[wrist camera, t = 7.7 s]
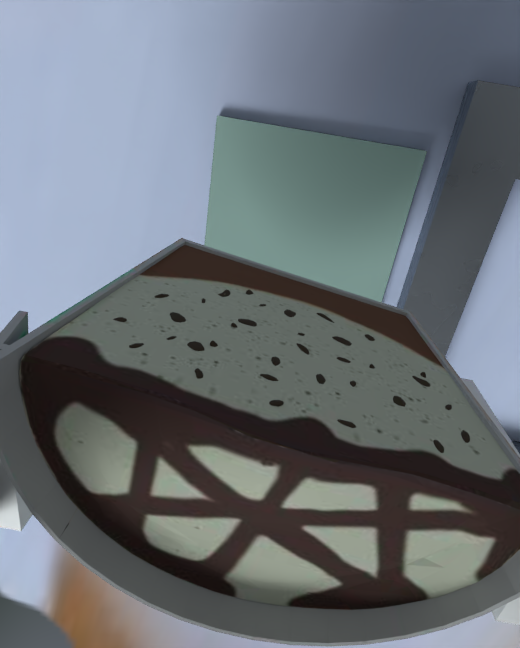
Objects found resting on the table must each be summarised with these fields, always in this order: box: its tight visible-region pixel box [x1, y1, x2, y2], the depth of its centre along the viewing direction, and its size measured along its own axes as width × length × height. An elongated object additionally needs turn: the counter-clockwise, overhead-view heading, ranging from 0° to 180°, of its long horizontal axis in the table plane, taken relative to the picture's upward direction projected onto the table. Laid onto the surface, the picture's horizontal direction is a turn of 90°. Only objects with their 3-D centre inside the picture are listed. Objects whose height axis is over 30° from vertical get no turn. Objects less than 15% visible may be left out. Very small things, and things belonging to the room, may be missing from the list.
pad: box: [205, 116, 427, 302], centre depth 24 cm, size 10×16×1 cm, turn 171°
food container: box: [0, 238, 520, 646], centre depth 13 cm, size 12×6×10 cm, turn 73°
